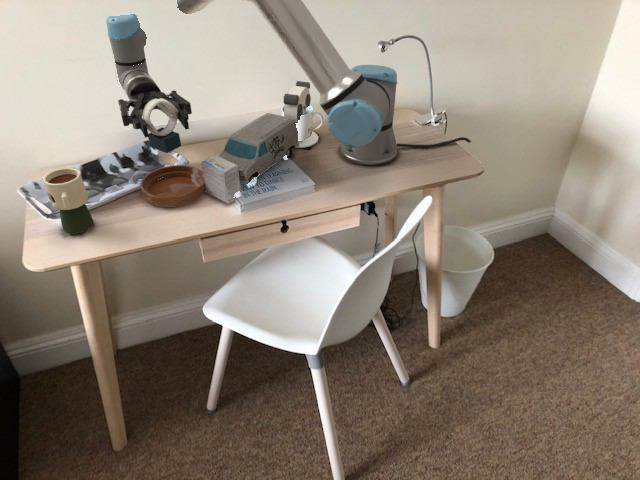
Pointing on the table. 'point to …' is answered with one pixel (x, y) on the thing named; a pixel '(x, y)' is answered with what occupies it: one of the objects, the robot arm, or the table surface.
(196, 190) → the bowl
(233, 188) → the medicine box
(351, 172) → the table surface
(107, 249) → the table surface
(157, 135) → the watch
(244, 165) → the toy car
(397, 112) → the table surface
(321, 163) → the table surface
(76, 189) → the character mug
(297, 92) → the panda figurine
